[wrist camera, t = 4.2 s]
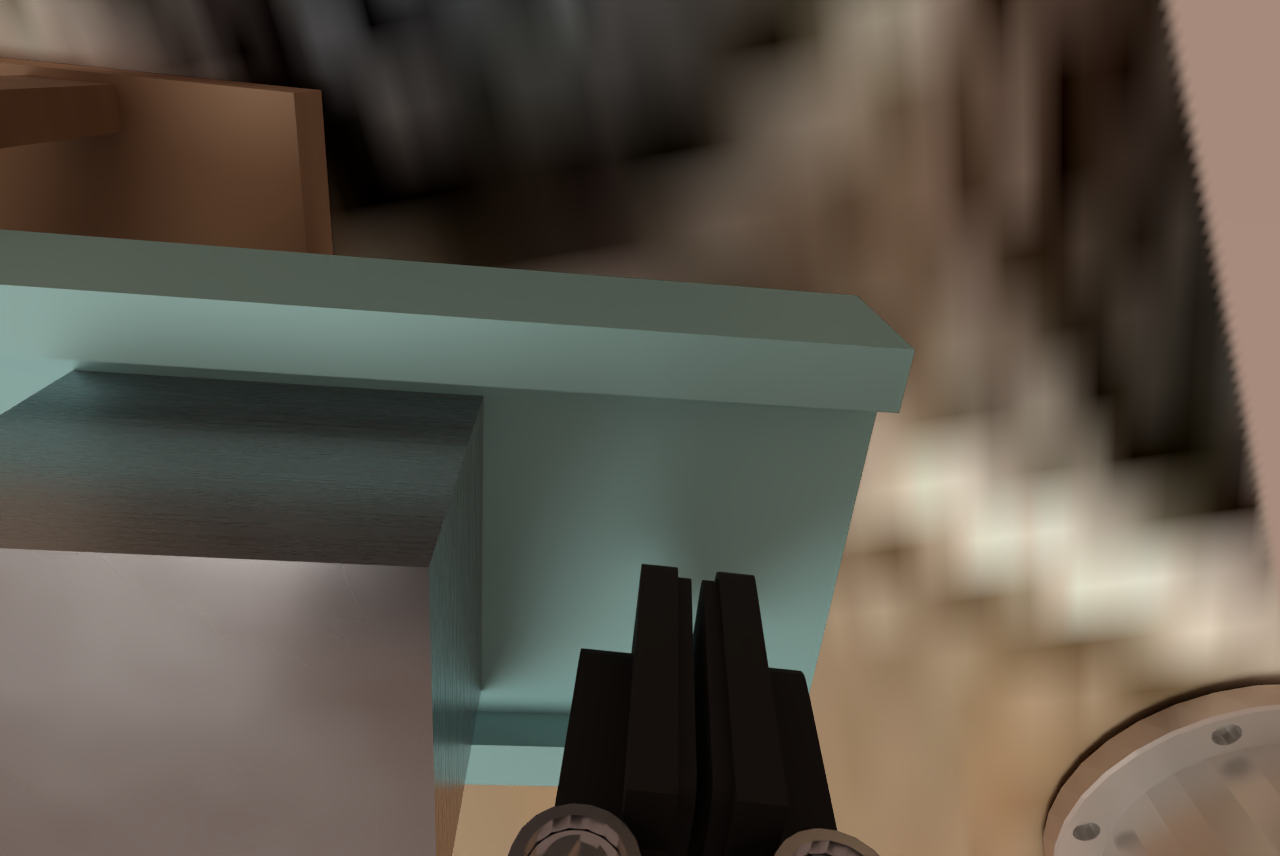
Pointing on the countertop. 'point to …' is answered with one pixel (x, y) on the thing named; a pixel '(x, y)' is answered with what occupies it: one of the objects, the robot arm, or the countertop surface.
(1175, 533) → the countertop surface
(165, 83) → the stand
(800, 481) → the beam
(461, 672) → the block
